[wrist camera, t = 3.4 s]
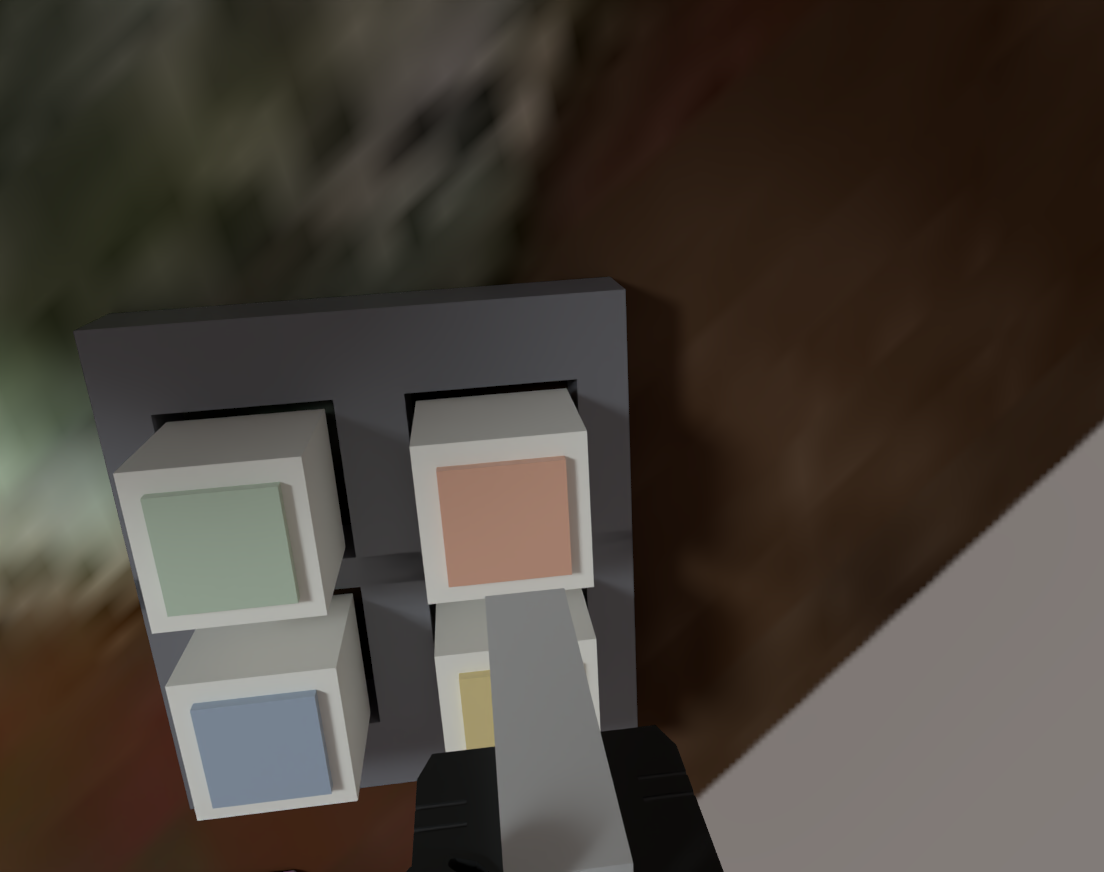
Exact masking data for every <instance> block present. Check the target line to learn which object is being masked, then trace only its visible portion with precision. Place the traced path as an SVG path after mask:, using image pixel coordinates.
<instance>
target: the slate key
mask: <svg viewBox="0 0 1104 872" xmlns="http://www.w3.org/2000/svg"><path fill="white" fill-rule="evenodd" d="M165 689H166V693H167V697H168V702H169V706H170V710H171V714H172V718H173V722H174V726H175V730H176V734H177V738H178V743H179V747H180V751H181V755H182V759H183V763H184V767H185V771H186V775H187V780H188V784H189V788H190V792H191V796H192V800H193V804H194V808H195V812H196V816H197V821H200V820H208V819H216V818H224V817H232V816H240V815H247V814H255V813H263V812H271V811H279V810H287V809H295V808H303V807H311V806H319V805H327V804H335V803H343V802H351V801H358V795H359V788H360V781H361V775H362V768H363V761H364V754H365V747H366V740H367V733H368V726H369V719H370V705H369V698H368V692H367V685H366V678H365V672H364V665H363V659H362V652H361V645H360V639H359V632H358V626H357V619H356V612H355V606H354V599H353V593H350V594H340V595H333V596H332V600H331V603H330V607H329V611H328V615H324V616H315V617H305V618H296V619H287V620H277V621H268V622H258V623H249V624H239V625H230V626H221V627H211V628H202V629H196V630H195V631H194V633H193V635H192V637H191V639H190V641H189V643H188V645H187V646H186V648H185V650H184V652H183V654H182V656H181V658H180V660H179V661H178V663H177V665H176V667H175V669H174V671H173V673H172V675H171V676H170V678H169V680H168V682H167V684H166V686H165Z"/></svg>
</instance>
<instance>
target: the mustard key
mask: <svg viewBox="0 0 1104 872" xmlns="http://www.w3.org/2000/svg"><path fill="white" fill-rule="evenodd" d="M565 593H566V597H567V601H568V605H569V609H570V613H571V617H572V621H573V625H574V629H575V633H576V637H577V641H578V645H579V649H580V653H581V657H582V661H583V665H584V669H585V673H586V677H587V681H588V685H589V689H590V693H591V697H592V701H593V705H594V709H595V713H596V717H597V721H598V725H599V729H600V710H599V687H598V665H597V643H596V636H595V633H594V629H593V626H592V622H591V619H590V616H589V612H588V609H587V605H586V602H585V599H584V595H583V592H582V588H579V589H569V590H565ZM434 659H435V667H436V676H437V684H438V692H439V701H440V709H441V718H442V726H443V735H444V743H445V751H446V752H452V751H461V750H469V749H477V748H486V747H494V746H495V739H494V724H493V709H492V694H491V679H490V664H489V649H488V633H487V618H486V603H485V599H475V600H466V601H456V602H447V603H437V604H436V622H435V651H434Z"/></svg>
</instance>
